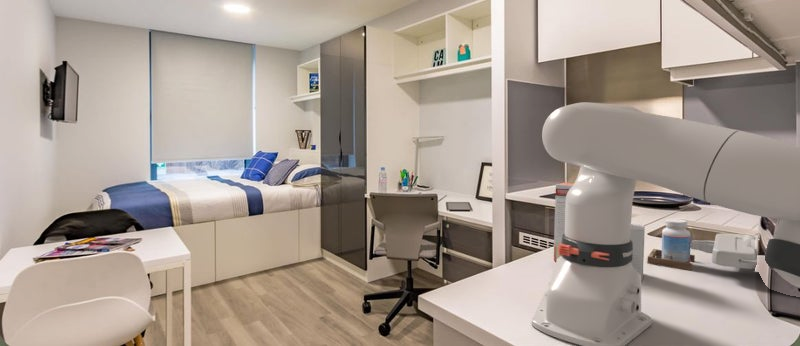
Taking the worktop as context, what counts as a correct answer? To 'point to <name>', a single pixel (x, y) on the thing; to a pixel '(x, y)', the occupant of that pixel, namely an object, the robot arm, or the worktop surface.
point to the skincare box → (638, 247)
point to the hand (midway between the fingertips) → (690, 244)
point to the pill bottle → (676, 241)
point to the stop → (668, 261)
